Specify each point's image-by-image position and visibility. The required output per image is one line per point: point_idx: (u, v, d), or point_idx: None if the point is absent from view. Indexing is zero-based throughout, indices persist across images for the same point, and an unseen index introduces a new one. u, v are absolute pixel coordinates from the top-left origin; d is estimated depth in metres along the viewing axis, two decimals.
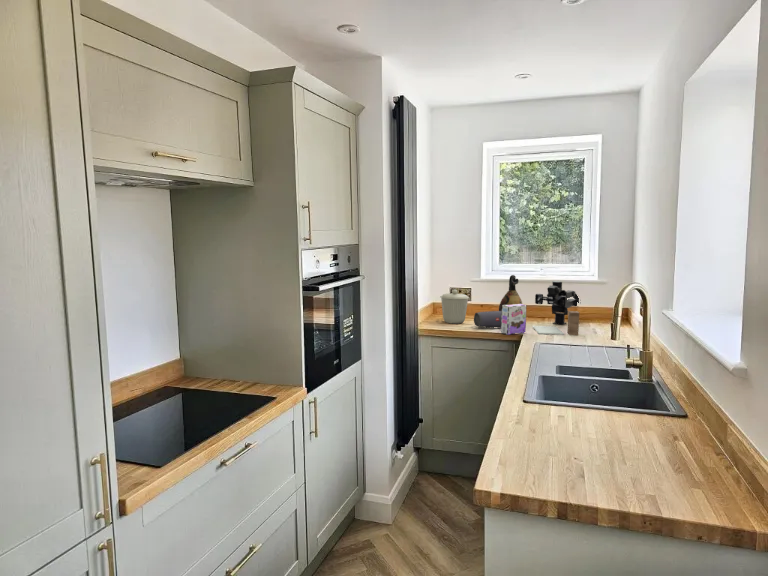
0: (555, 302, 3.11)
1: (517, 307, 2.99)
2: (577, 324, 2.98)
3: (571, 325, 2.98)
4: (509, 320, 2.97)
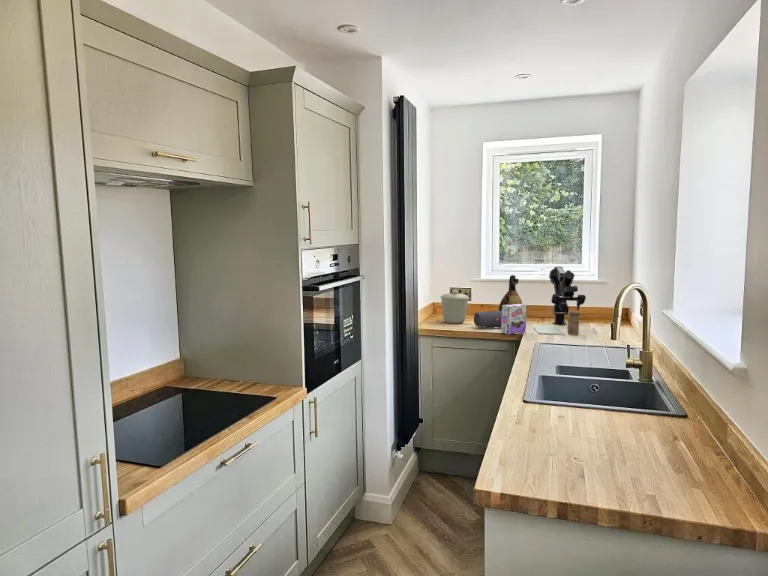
0: None
1: (517, 307, 2.99)
2: (577, 324, 2.98)
3: (571, 325, 2.98)
4: (509, 320, 2.97)
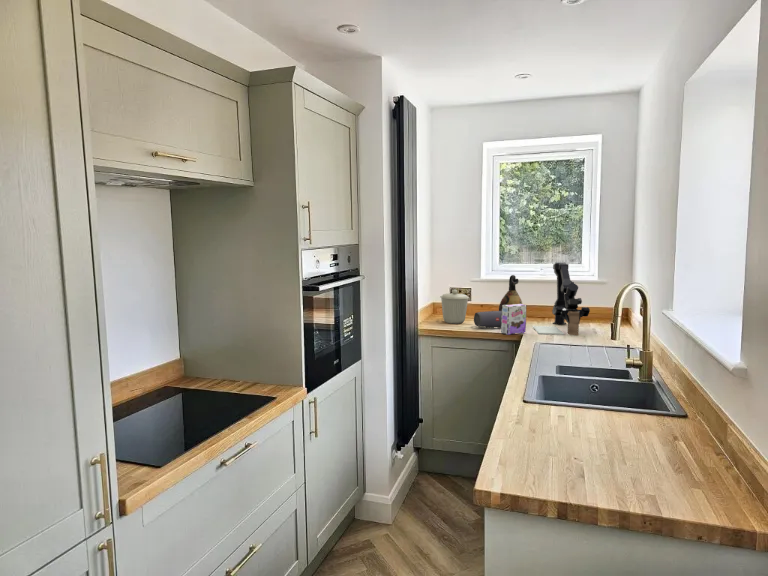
0: (579, 320, 3.00)
1: (517, 307, 2.99)
2: (577, 324, 2.98)
3: (571, 325, 2.98)
4: (509, 320, 2.97)
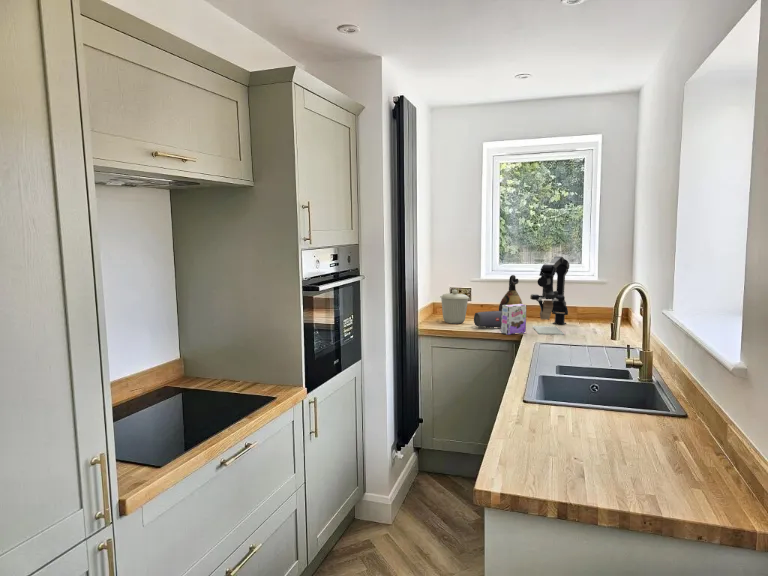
0: None
1: (517, 307, 2.99)
2: (549, 313, 3.12)
3: (543, 314, 3.12)
4: (509, 320, 2.97)
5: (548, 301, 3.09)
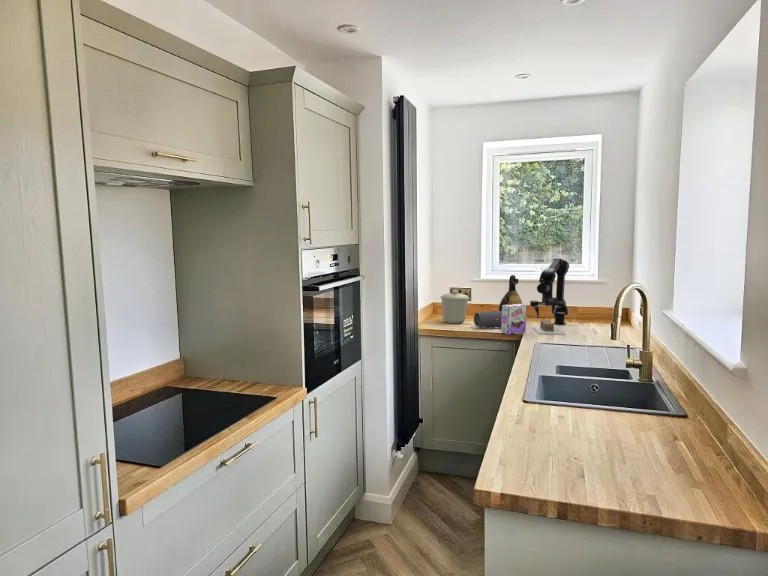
0: None
1: (517, 307, 2.99)
2: None
3: None
4: (509, 320, 2.97)
5: (549, 325, 3.04)
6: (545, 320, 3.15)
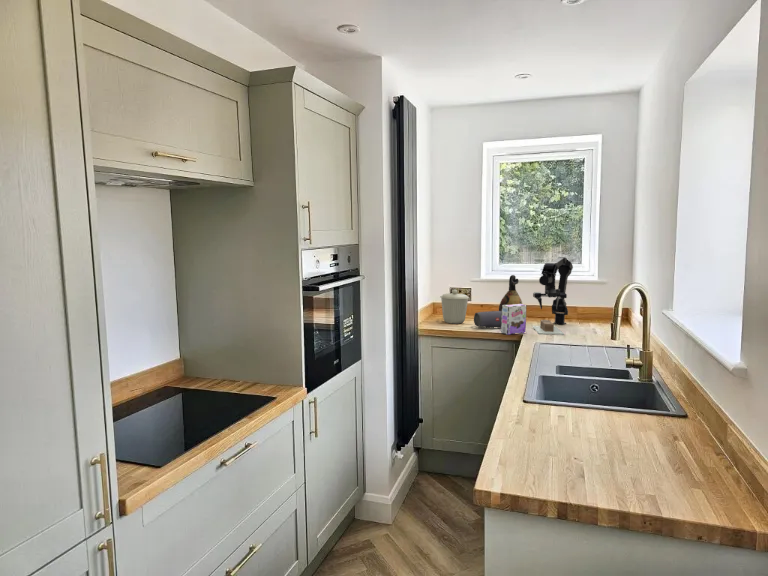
0: None
1: (517, 307, 2.99)
2: None
3: None
4: (509, 320, 2.97)
5: (549, 325, 3.04)
6: (545, 320, 3.15)
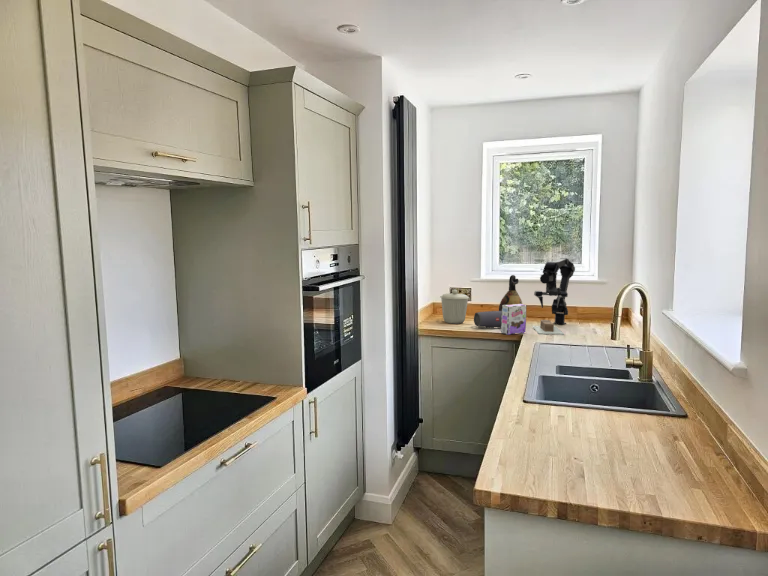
0: None
1: (517, 307, 2.99)
2: None
3: None
4: (509, 320, 2.97)
5: (549, 325, 3.04)
6: (545, 320, 3.15)
